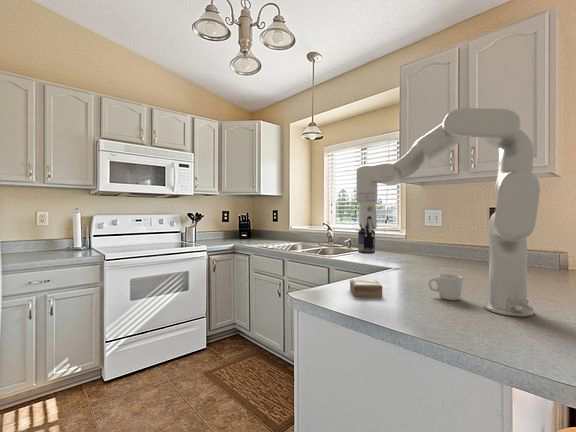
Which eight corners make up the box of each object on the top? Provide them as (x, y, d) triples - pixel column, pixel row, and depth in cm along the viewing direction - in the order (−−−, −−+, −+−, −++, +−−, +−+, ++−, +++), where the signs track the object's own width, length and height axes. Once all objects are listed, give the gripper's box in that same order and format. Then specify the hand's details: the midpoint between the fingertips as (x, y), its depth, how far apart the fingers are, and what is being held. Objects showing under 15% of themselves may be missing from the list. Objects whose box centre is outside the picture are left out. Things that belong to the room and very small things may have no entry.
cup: (427, 299, 107) (427, 276, 107) (429, 293, 114) (429, 272, 114) (463, 303, 102) (463, 279, 102) (462, 297, 109) (462, 275, 109)
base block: (382, 297, 110) (382, 285, 110) (354, 296, 110) (354, 285, 110) (375, 290, 120) (375, 279, 120) (350, 289, 120) (350, 279, 120)
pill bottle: (376, 254, 112) (377, 224, 111) (360, 254, 112) (360, 224, 112) (372, 251, 118) (372, 223, 118) (356, 251, 118) (356, 223, 118)
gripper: (382, 197, 106) (382, 249, 106) (372, 199, 123) (371, 244, 123) (360, 197, 106) (360, 249, 106) (353, 199, 123) (353, 244, 124)
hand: (366, 246), depth 115 cm, fingers closed on pill bottle, 6 cm apart
